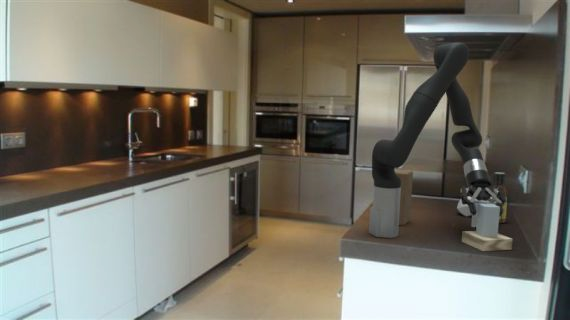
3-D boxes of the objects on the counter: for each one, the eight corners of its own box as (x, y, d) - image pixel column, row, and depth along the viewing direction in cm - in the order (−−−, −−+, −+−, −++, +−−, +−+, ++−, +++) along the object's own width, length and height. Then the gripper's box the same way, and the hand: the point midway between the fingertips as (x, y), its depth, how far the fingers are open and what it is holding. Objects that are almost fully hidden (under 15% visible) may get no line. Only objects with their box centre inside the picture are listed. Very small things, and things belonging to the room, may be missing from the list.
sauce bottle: (501, 219, 201) (505, 171, 198) (508, 223, 194) (512, 174, 192) (485, 219, 200) (489, 171, 198) (492, 223, 194) (496, 173, 192)
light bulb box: (479, 222, 196) (481, 195, 195) (496, 225, 192) (499, 197, 191) (470, 226, 188) (472, 199, 186) (488, 230, 184) (491, 201, 182)
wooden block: (410, 220, 194) (413, 170, 192) (403, 226, 186) (406, 173, 183) (385, 217, 199) (388, 168, 197) (377, 222, 191) (380, 171, 188)
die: (466, 213, 213) (454, 196, 212) (484, 206, 208) (472, 188, 207) (463, 223, 207) (451, 205, 206) (482, 217, 202) (469, 198, 201)
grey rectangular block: (482, 236, 160) (484, 206, 159) (476, 232, 165) (478, 203, 164) (497, 237, 161) (499, 207, 159) (490, 233, 166) (493, 203, 164)
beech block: (483, 251, 156) (483, 240, 156) (461, 241, 167) (462, 231, 167) (511, 249, 160) (512, 238, 159) (489, 239, 170) (489, 230, 170)
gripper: (459, 167, 170) (470, 207, 160) (500, 169, 170) (513, 209, 160) (453, 180, 175) (462, 219, 165) (492, 181, 176) (504, 221, 166)
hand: (487, 214), depth 163 cm, fingers open, 8 cm apart
